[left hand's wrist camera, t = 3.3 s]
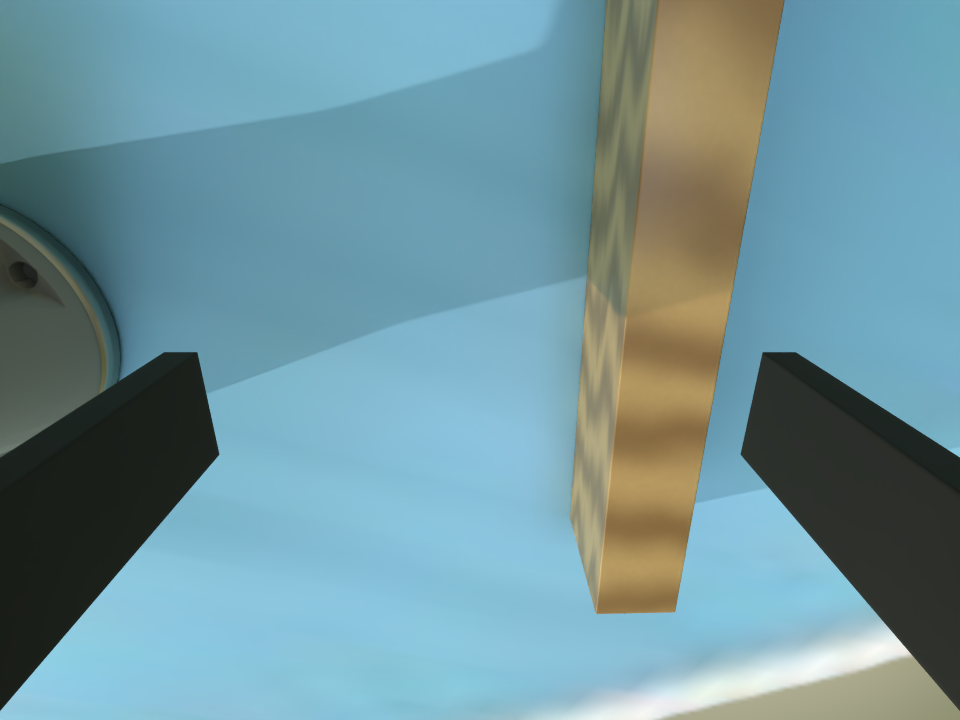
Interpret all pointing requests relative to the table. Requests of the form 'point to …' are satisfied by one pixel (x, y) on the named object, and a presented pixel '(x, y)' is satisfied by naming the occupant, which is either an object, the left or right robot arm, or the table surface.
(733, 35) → the bar
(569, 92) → the table surface
